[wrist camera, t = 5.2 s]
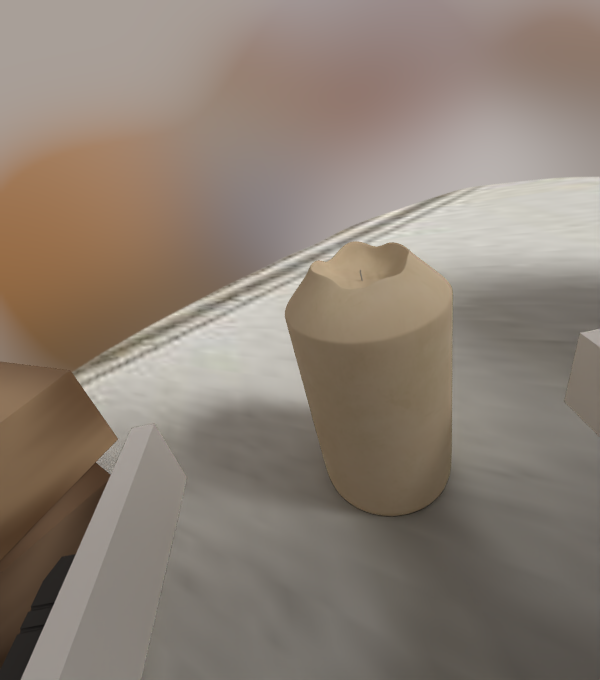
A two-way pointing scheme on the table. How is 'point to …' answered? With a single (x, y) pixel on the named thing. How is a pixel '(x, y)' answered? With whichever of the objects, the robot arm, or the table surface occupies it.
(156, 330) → the table surface
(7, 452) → the tower top
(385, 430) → the candle
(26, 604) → the tower base
